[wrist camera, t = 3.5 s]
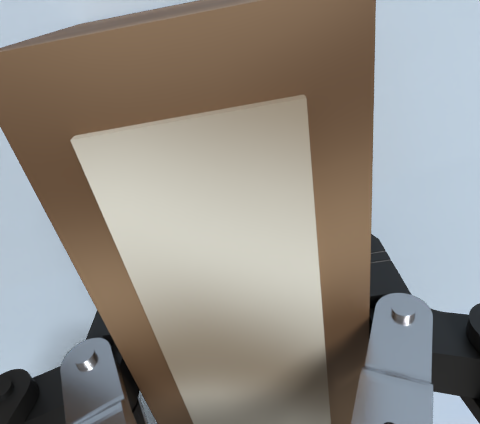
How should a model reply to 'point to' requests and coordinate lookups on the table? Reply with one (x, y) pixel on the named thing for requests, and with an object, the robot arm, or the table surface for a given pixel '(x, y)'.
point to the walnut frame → (213, 196)
